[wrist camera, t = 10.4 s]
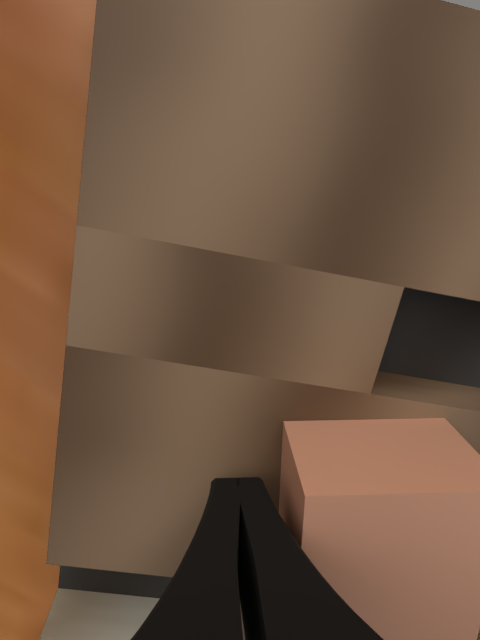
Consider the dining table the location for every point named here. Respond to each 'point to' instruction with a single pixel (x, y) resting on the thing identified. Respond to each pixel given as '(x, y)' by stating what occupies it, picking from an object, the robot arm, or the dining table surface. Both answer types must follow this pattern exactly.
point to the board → (255, 264)
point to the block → (389, 520)
